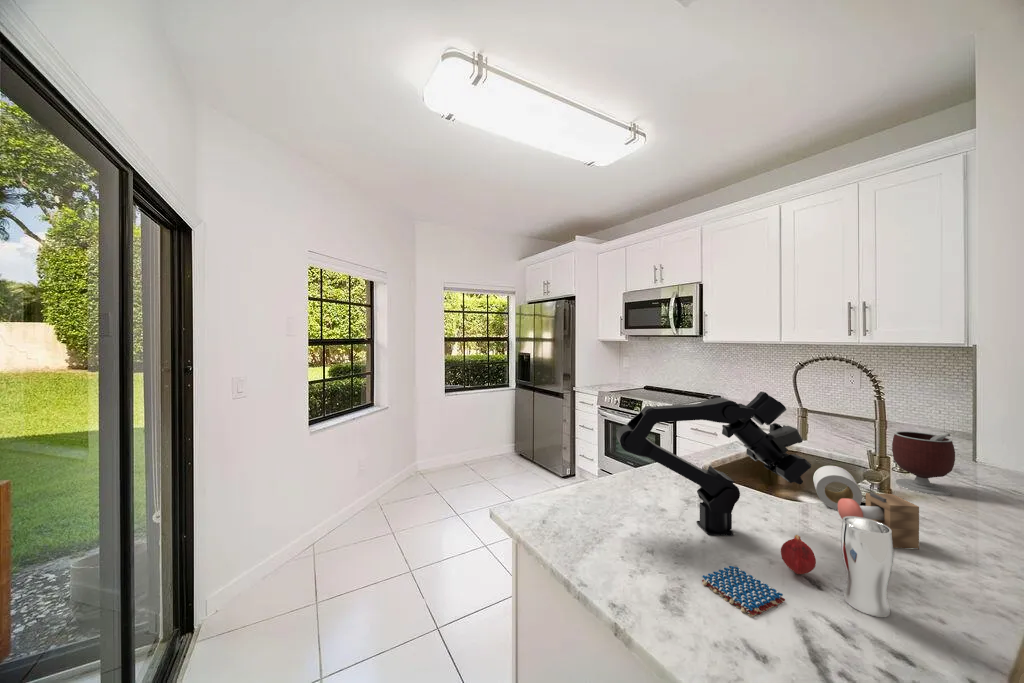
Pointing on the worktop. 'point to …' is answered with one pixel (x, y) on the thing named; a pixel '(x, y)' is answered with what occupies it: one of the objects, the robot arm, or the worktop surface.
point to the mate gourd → (923, 459)
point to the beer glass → (867, 564)
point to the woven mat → (743, 590)
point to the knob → (859, 510)
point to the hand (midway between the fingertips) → (800, 482)
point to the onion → (798, 556)
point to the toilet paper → (835, 475)
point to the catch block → (898, 518)
